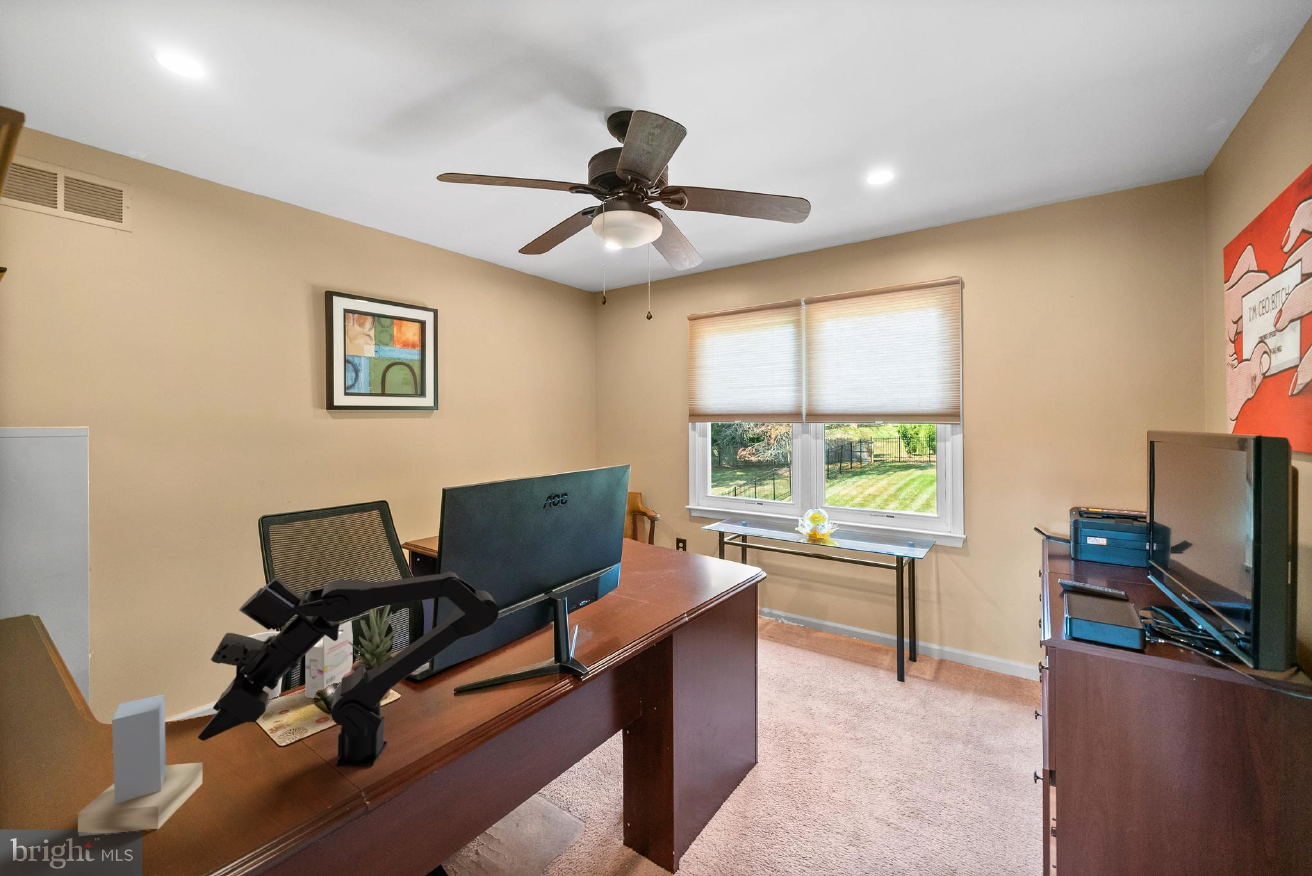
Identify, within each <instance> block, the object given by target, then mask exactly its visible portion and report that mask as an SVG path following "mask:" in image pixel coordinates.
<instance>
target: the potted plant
mask: <svg viewBox="0 0 1312 876" xmlns="http://www.w3.org/2000/svg"><path fill="white" fill-rule="evenodd" d="M390 607H391V605H387V606H384V609H383V612H382V615H381V617H380V613H379V612H380V611H379V610H378V611H376V609H377V608H374V609H371V610H369V611H368V613H369V626H370V630H369V627H368V626H367V624H366V623H367V622H366V621H365V620H364V619H363V620H362V619H360V621H359V622H360V625H361V629H362V631H363V634H364V637H365V638H366V640H365V639H364V638H362V636H358V639H359V641H360V642H361V645H362V648H360V647H358V646H357V645H355V644H354V643H353V644H352V643H351V642H349V643H350V644H351V645H352V646H353V649H355V650H356V651H358V652H360V654H362V655H360V654H358V653H355V652H354V653H353V654H354V656H355V657H356V658H358V659H359V660H357V661H356V662H354V663H352V667H351V674H352V673H353V672H354V671H356V670H357V669H358V668H359V667H360V666H362V665H364V667H365V669H366V671H367V670H370V669H374V668H377V667H379V666H381V665H382V664H384V663H385V662H386V661H388V660H389V659H391V658H392V657H394V656H395V655H392V654H393V652H394V650H393V649H392V650H390V651H388V650H389V649H390V648H391V646H392V644H393V643H394V641H395V639H396V638H397V635H396V634H395V632H396V631H397V630H398V627H399V626H396V627H395V628H394V629H393V630H392V631H391V633H389V634H388V635H387V636H386V637H385V634H386V632H387V631H388V627H389V625H390V622H391V620H392V619H391V618H392V615H393V612H392V611H391V612H390V614H389V615H388V613H389V610H390ZM387 616H388V617H387ZM394 634H395V635H394ZM387 651H388V652H387ZM391 691H392V688H391V689H390V690H389V691H388V692H387V693H386V694H385V696H384V697H383V698H382V699H381V700H382V701H384V700H385V699H387V698H388V697H389V696H390V694H391ZM386 697H387V698H386ZM383 699H384V700H383Z"/></svg>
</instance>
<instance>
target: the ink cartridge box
mask: <svg viewBox="0 0 1312 876" xmlns="http://www.w3.org/2000/svg"><path fill="white" fill-rule="evenodd" d="M338 630H339V634H338V640H337V641H333V640H332V639H330V638H329V637H328V636H326V635H325V636H324V637H323V638H322V639H321V640H320V641H319V642H318V643H317V644H316V645H315V646H314V647H312V648H311V649H310V650H309V651H308V652H307V653H306V654H305V655H304V656H305V662H304V664H305V670H304V671H305V674H304V675H305V677H304V678H305V680H304V681H305V690H304V691H305V693H304V694H305V698H307V699H308V698H309V699H310V698H311V699H314V696H315V694H316V692H317V691H318V690H323V689H325V688H326V687H327V686H328V685H331V684H333V683H339V682H341V680H342V678H343V677H346V676H349V675H350V674H351V667H352V665H353V660H354V659H353V654H354V653H353V651H354V650H353V649H354V647H353V646H352V645H351V644H350V643H349V642H351V643H352V644H353V645H354V642H353V641H354V637H353V635H354V634H353V627H352V621H351V620H349V621H347V622H345V623H342V624H340V626H339V629H338Z"/></svg>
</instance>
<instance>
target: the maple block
mask: <svg viewBox="0 0 1312 876" xmlns="http://www.w3.org/2000/svg"><path fill="white" fill-rule="evenodd" d="M202 785H203V762H202V761H201V762H191V763H177V764H176V763H175V764H166V775H165V778H164V782H163V785H162V789H161V791H158V792H155V793H151V794H148V795H145V796H141V797H138V798H135V799H131V800H128V801H125V802H121V803H118V804H115V787H114V783H112V784H111V785H110V786H109V787H107V788H106V789H105V790H104V791H103V792H101V793H100V794H99V795H98V796H96V797H95V798H94V799H93V800H92V801H91V802H89V803H88V804H87V805H86V806H85V807H83V808H82V809H81V810H80V811H79V812H78V813H77V833H78V832H85V833H86V832H87V833H111V832H122V831H132V830H141V829H157V830H159V829H160V828H161V827H162V826H163V825H164V824H165V823H166V822H167V820H170V818H171V817H172V816H173V815H174V813H176V812H177V810H178V809H180V807H181V806H182V805H183V804H184V803H186V801H187V800H188V799H189V798H190V797H191V796H192V795H193V794H194V793H196V791H197V790H198V788H199V787H200V786H202Z"/></svg>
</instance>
